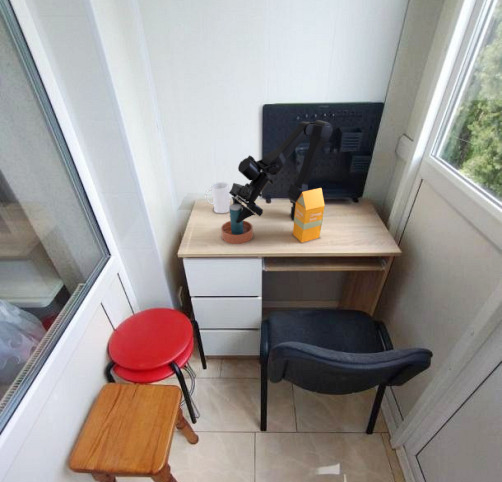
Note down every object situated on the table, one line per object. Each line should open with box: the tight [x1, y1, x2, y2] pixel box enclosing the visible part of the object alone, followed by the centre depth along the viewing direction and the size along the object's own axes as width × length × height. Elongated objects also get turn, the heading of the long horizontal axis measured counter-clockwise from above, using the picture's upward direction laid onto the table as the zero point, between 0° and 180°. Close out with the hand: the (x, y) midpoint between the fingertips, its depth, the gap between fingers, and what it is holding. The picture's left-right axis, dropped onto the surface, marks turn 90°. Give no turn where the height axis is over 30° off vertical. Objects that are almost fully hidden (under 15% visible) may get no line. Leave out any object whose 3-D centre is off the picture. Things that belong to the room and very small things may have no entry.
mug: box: [204, 181, 231, 214], centre depth 137 cm, size 12×8×12 cm
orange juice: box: [292, 187, 326, 243], centre depth 115 cm, size 8×9×20 cm
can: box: [229, 203, 243, 235], centre depth 117 cm, size 5×5×12 cm
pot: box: [220, 219, 254, 245], centre depth 121 cm, size 13×13×4 cm
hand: (233, 219), depth 116 cm, fingers closed on can, 5 cm apart
